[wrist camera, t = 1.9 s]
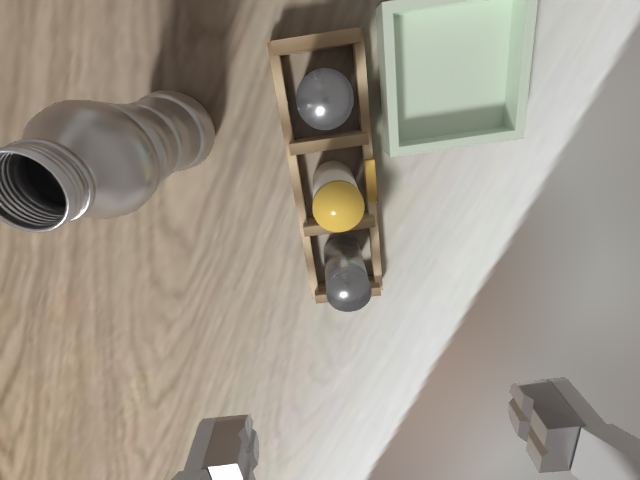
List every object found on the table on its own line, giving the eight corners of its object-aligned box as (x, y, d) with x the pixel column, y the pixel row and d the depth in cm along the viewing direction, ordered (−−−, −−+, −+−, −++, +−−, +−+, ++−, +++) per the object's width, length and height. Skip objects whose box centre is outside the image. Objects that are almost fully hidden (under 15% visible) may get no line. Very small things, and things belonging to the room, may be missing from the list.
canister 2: (321, 237, 38) (323, 276, 30) (358, 232, 37) (369, 270, 30) (326, 270, 39) (329, 314, 32) (361, 265, 39) (373, 308, 32)
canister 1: (296, 73, 31) (291, 72, 24) (341, 66, 31) (350, 63, 23) (303, 120, 33) (301, 133, 25) (346, 114, 32) (356, 125, 25)
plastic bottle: (207, 174, 34) (92, 284, 16) (137, 142, 33) (-73, 225, 15) (230, 110, 32) (125, 158, 14) (156, 74, 31) (-68, 74, 13)
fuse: (309, 163, 34) (308, 186, 27) (351, 157, 34) (362, 179, 27) (315, 203, 36) (316, 235, 29) (355, 197, 36) (366, 228, 29)
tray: (375, 8, 29) (381, 2, 26) (518, -15, 28) (540, -24, 26) (383, 150, 34) (390, 157, 31) (506, 133, 33) (523, 138, 31)
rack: (268, 44, 30) (265, 41, 28) (361, 29, 30) (365, 25, 27) (312, 291, 40) (312, 304, 38) (380, 282, 40) (385, 294, 38)
